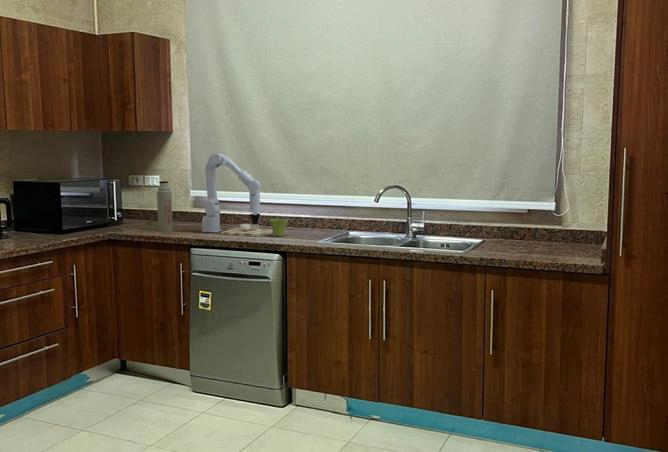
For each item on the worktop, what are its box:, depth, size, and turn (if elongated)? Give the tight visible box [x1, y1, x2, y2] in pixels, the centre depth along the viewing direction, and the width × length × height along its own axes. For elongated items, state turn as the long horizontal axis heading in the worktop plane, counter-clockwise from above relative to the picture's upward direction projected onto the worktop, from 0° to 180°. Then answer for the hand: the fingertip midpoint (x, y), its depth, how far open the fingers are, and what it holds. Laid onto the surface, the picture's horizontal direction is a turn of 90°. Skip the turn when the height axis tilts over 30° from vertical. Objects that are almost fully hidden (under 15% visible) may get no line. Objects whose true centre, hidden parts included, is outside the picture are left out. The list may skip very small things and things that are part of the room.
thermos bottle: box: [156, 180, 174, 232], centre depth 382 cm, size 8×8×28 cm
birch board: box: [220, 227, 273, 238], centre depth 370 cm, size 22×18×2 cm
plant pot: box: [269, 218, 288, 237], centre depth 361 cm, size 9×9×9 cm
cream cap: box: [239, 223, 260, 230], centre depth 370 cm, size 10×6×3 cm, turn 98°
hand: (255, 226), depth 375 cm, fingers closed
